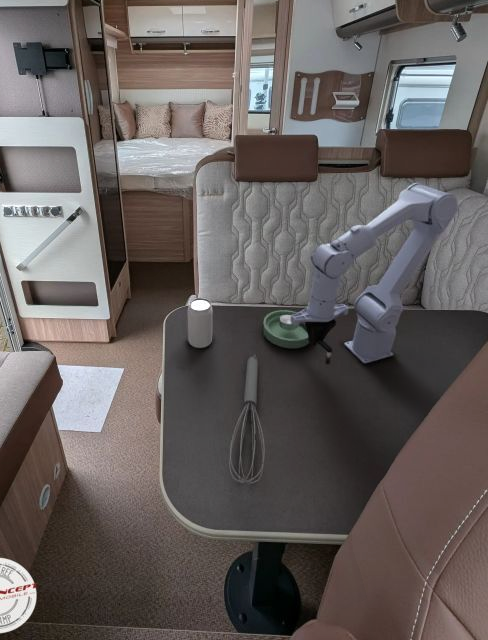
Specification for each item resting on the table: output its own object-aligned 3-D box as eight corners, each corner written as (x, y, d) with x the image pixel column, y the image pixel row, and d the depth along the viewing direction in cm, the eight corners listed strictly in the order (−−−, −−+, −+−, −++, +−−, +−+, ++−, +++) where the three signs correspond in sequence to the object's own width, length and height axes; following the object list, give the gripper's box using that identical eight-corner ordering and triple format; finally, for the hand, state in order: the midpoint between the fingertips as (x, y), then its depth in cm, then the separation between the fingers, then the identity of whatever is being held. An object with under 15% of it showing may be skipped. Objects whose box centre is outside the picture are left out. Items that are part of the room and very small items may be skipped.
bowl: (295, 315, 109) (296, 306, 108) (322, 343, 98) (323, 334, 96) (254, 324, 105) (255, 315, 104) (277, 355, 94) (278, 345, 92)
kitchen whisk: (264, 359, 92) (266, 340, 89) (262, 497, 62) (264, 474, 59) (240, 357, 93) (241, 337, 90) (226, 492, 63) (227, 469, 60)
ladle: (276, 322, 101) (277, 308, 100) (291, 319, 103) (292, 305, 101) (320, 367, 83) (322, 351, 82) (337, 363, 85) (340, 347, 83)
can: (187, 333, 101) (187, 297, 95) (211, 332, 101) (211, 296, 96) (188, 349, 95) (187, 311, 90) (213, 348, 96) (213, 310, 90)
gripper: (338, 281, 88) (329, 326, 94) (286, 292, 84) (280, 338, 90) (358, 296, 82) (347, 343, 88) (303, 308, 78) (296, 357, 84)
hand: (315, 342), depth 88 cm, fingers closed on ladle
